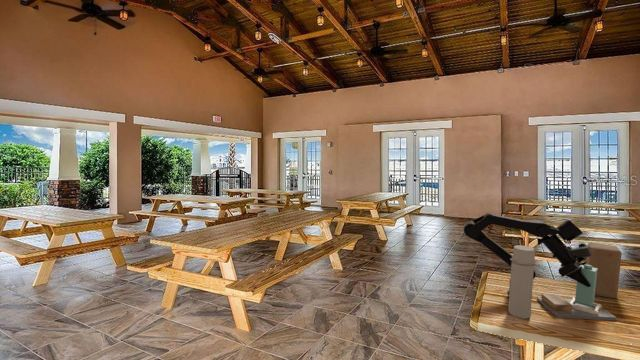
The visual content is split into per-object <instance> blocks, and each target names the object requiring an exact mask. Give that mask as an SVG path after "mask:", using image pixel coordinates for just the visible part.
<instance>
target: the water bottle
mask: <svg viewBox="0 0 640 360" xmlns="http://www.w3.org/2000/svg"><path fill="white" fill-rule="evenodd" d="M535 254H536V252H535V248H533V247H532V246H528V245H514V246H513V250H512V258H510V260H511V259H512V260H511V261H512V264H511V266H510V272H511V274H510V279H509V285H510V294H509V293H508V294H509V297H508V309H507V310H508V313H509V314H510V315H511V316H512V317H515V318H518V319H521V320H522V319H525V320H526V319H529V318H531V312H532V301H533V287H534V279H533V274H534V271H535V264H536V262H537V261H536V255H535Z"/></svg>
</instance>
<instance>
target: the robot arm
mask: <svg viewBox="0 0 640 360" xmlns="http://www.w3.org/2000/svg"><path fill="white" fill-rule="evenodd" d="M490 225H495V226H501V227H504V228H509V229H515V230H520V231H522V232H526V233H528V234H530V235H533V236H535V237H537V238H536V239H537V244H536V245H538V246H540V245H542V244H543V246H545V248H546V249H547V250H548V251H549V252H550V253H551V254H552V258H553V259H557V261H558V262H559V263H560V267H559V268H558V273H557V274H559V275H560V276H561V277H562V278H563V277H568V278H569V279H572V280H573V281H576V283H577V282H579V283H581V284H583V285H585V286H587V287H590V286H591V285H590V283H589V282H588V280H587V279H586V277H585V276H584V275H583V273H582V266H581V267H579V266H580V265H585V264H586V259H587V257H589V256H591V255H592V251H591V248H590V247H589V245H588V244H586V243H585V242H582V243H579V244H578V247H573V248H572V247H571V246H570V245H566V244H565V243H564V242H572V241H573V240H574V239H576V238H579V236H582V235H583V234H584V233H583V231H582V230H581V228H579V226H577V225H575V223H573V222H572V220H570V219H566V220H565V221H563V223H561V224H559V225H558V226H554V225H550V224H547V223H546V222H544V221H543V220H540V219H518V218H514V217H509V216H505V215H504V216H503V215H499V214H494V213H491V212H486V213H485V214H483V215H481V216H479V217H477V218H475V219H473V220H467V221H465V222H464V223H463V226H462V228H463V233H464V234H465V236H466V237H468V238H470V239H472V240H474V241H476V242H477V243H480V244H482V245H483V246H484V247H485V248H487V250H489V251H490V252H492V253H493V254H494V255H496V256H497V257H498V258H499V259H501V260H502V261H504V262H505V263H506V264H507V265H508V266H509V267H511V264H512V261H511V260H512V259H511V260H510V258H512V255H513V253H510V252H509V251H508V250H507V249H505V248H504V247H503V246H501V245H500V244H499V243H497V242H496V241H495V240H494V239H493V238H491V237H490V236H489V235H487V234H486V232H484V229H486V228H488V227H489V226H490ZM559 237H560V238H559ZM561 239H562V240H561ZM563 241H564V242H563ZM587 245H588V246H587ZM509 274H510V275H511V271H510V272H509ZM535 278H536V270H534V274H533V280H534V279H535ZM508 285H509V286H508V287H509V289H508V290H507V291H506V292H507V294H510V284H508Z"/></svg>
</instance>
